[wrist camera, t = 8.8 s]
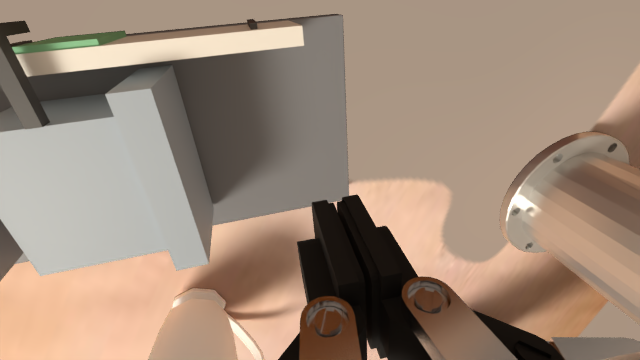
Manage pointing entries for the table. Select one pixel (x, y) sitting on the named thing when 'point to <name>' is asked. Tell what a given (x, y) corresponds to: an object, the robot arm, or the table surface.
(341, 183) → the frame
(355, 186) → the table surface
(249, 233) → the table surface
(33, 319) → the table surface
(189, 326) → the cup
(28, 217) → the grey block
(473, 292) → the table surface
